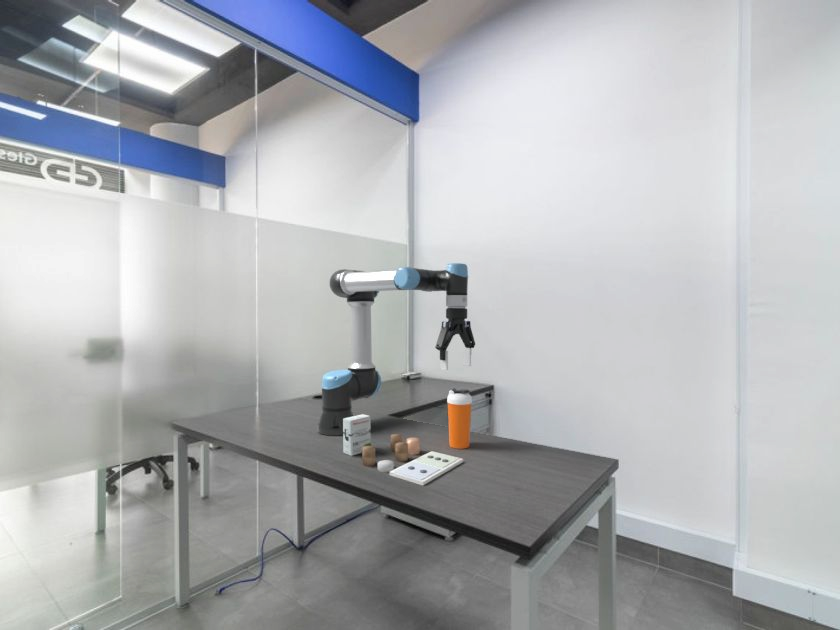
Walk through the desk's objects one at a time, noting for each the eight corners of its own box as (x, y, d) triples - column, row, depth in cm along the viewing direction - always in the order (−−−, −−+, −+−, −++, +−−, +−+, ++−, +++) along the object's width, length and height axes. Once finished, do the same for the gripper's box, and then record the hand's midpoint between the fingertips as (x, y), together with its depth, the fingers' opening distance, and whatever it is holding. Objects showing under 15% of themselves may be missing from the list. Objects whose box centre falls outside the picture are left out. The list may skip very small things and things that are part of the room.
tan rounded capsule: (359, 464, 130) (359, 448, 130) (368, 460, 133) (368, 445, 133) (369, 467, 127) (369, 451, 127) (377, 463, 131) (377, 447, 130)
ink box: (363, 446, 146) (363, 413, 146) (371, 450, 143) (371, 415, 142) (342, 452, 140) (342, 417, 140) (350, 456, 137) (350, 420, 136)
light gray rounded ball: (374, 470, 125) (374, 463, 125) (384, 465, 129) (384, 458, 129) (386, 474, 122) (386, 467, 122) (397, 469, 127) (397, 462, 126)
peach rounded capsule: (403, 453, 140) (404, 439, 140) (411, 449, 144) (411, 436, 144) (414, 455, 137) (414, 442, 137) (422, 452, 141) (422, 439, 141)
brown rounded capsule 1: (388, 450, 142) (388, 436, 142) (395, 447, 146) (395, 433, 146) (397, 453, 140) (397, 438, 140) (404, 449, 143) (404, 435, 143)
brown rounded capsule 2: (392, 460, 133) (392, 444, 133) (400, 456, 137) (400, 441, 137) (402, 462, 131) (402, 447, 131) (410, 459, 134) (410, 443, 134)
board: (389, 475, 121) (389, 470, 121) (431, 454, 139) (431, 449, 139) (422, 485, 114) (422, 480, 114) (463, 461, 132) (463, 457, 132)
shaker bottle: (470, 450, 143) (471, 392, 142) (445, 448, 144) (445, 391, 144) (472, 442, 151) (473, 387, 151) (448, 440, 153) (448, 386, 153)
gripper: (442, 307, 134) (442, 372, 135) (485, 307, 153) (484, 365, 153) (425, 307, 139) (424, 370, 140) (468, 307, 158) (467, 363, 158)
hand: (455, 367), depth 147 cm, fingers open, 13 cm apart
